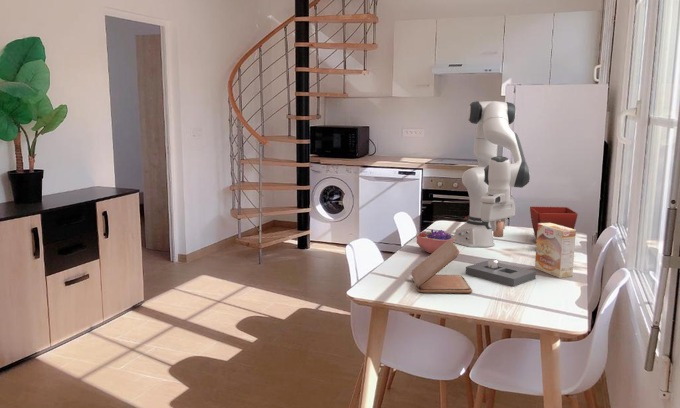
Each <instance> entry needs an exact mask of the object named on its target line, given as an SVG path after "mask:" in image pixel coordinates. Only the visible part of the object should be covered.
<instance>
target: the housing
mask: <svg viewBox="0 0 680 408" xmlns="http://www.w3.org/2000/svg"><path fill="white" fill-rule="evenodd" d="M465 275H468V276H471V277H476V278H480V279H483V280H486V281H487V280H488V281H491V282H494V283H498V284H502V285H505V286H509V287H517V286H520V285H521V284H525V283H527V282H531V281H533V280H536V275H537V271H536V270H533V269H532V270H531V269H527V268H525V267H523V268H522V267H518V266H514V265H511V264H510V265H509V264H506V263H502V262H498V269H496V270H493V269H489V268H488V259H487V260H485V261H482V262H478V263H475V264H471V265H468V266H465Z"/></svg>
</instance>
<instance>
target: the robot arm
mask: <svg viewBox="0 0 680 408" xmlns="http://www.w3.org/2000/svg"><path fill="white" fill-rule="evenodd" d="M516 116H517V108H516V105H515V104H514V103H513V102H508V101H506V102H505V101H498V100H491V101H489V100H487V101H486V100H485V101H479V100H478V101H477V100H476V101H472V102H470V104H469V106H468V107H467V111H466V117H467V119H468V122H470V124H473V125H476V128H475V133H474V141H473V155H474V156H475V158H476V160H477V166H476V167H471V168H469V169H467V170H465V171H464V172H463V173H462V176H461V182H462V184H463V186H464V187H465V189H466V191H467V193H468V197H469V198H468V199H469V215H467V216H465V217H464V220H466V221H465V222H464V223H463V224H461V225H460V226H459V227H457V228H456V229H455V232H454V236H456V237H455V239H454V242H453V244H454V243H455V244H459V245H462V246H465V247H469V248H472V247H473V248H474V247H476V248H487V247H488V248H489V247H494V246H495V242H494V236H493V231H497V227H496V221H502V222H504V223H503V230H505V228H506V226H505V225H506V223H507V221H508V219H509V218H514V217H515V215H516V202H515V200H514V197H513V196H512V195H511V188H524V187H525V186H527V184H529V183H530V181H531V180H530V179H531V172H530V169H529V166H528V163H527V161H526V158H525V154H524V151H523V147H522V143H521V141H520V138H519V134H517V133H516V132H515V131H513V130H512V129H511V127H510V125H511V124H513V123H514V122H515V119H516ZM498 146H499V147H503V148H506V149H508V150H509V151H510V153H511V155H512V158H513V161H514V163H511V162H510V158H508V157H506V156H498Z"/></svg>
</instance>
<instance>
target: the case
mask: <svg viewBox="0 0 680 408" xmlns="http://www.w3.org/2000/svg"><path fill="white" fill-rule="evenodd" d="M459 254H460V250H459V249H458V247H457V245H456V244H454V242H453V243H452V242H451V241H447V242H445V243H444V244H443V245H442V246H440V247H439V248H438V249H437V250H436V251H434V252H433V253H430V255H428V256H427V257H426V258H425V259H424V260H423V261H422V262H420V263H419V264H417V265H416V267H414V268H413V269H412V271H411V273H410V275H411V276H412V280H413V283H414V286H415V287H416V290H417V292H418V293H424V294H429V293H432V294H433V293H434V294H435V293H436V294H441V293H442V294H470V293H471V294H472V293H473V289H472V288H471V286H470V285H469V283H468V281H467V280H466V279H465V277H463V276H462V275H459V274H437V273H439V272H440V271H442V270H443V269H444V268H445V267H446V266H448V265H449V264H450V263H451V262H453V261H454V260H455V259H456V258H457V257H458V256H459Z"/></svg>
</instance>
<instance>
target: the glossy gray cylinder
mask: <svg viewBox="0 0 680 408" xmlns="http://www.w3.org/2000/svg"><path fill="white" fill-rule="evenodd" d="M487 260H488V268H489V269H493V270H496V269H498V263H499V259H496V258H489V259H487Z"/></svg>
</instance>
